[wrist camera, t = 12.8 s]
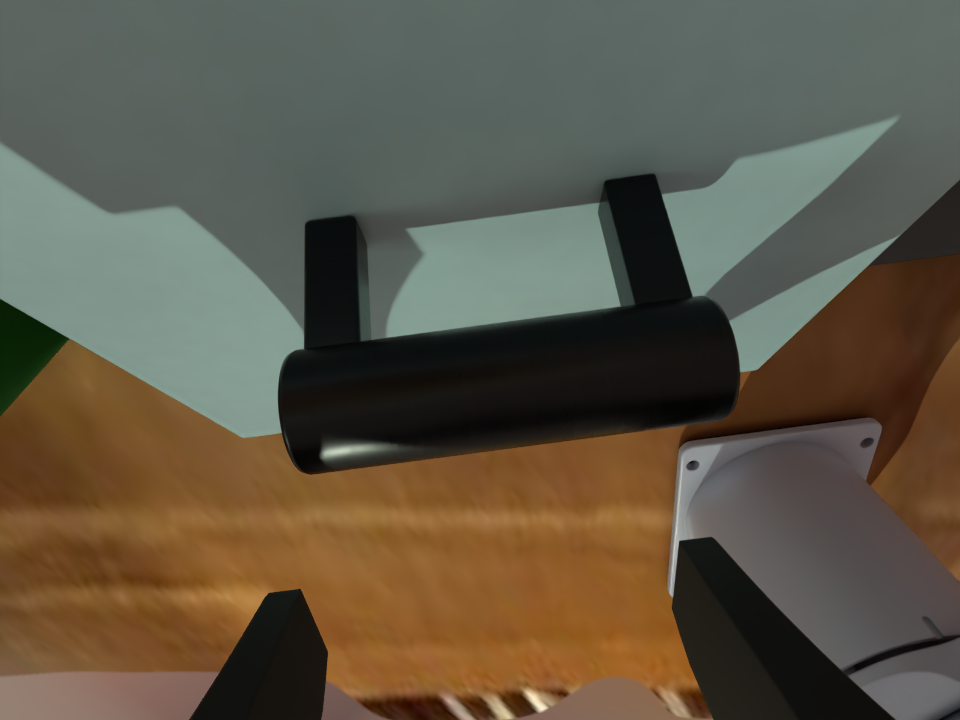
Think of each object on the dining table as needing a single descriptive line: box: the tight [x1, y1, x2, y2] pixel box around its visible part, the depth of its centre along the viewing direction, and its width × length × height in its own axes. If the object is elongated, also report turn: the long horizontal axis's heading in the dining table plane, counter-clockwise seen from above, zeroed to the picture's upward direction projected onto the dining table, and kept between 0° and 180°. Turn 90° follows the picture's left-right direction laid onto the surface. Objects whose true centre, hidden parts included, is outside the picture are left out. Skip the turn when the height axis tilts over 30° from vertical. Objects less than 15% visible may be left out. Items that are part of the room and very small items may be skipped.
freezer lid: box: [0, 0, 960, 475], centre depth 9 cm, size 14×14×4 cm
